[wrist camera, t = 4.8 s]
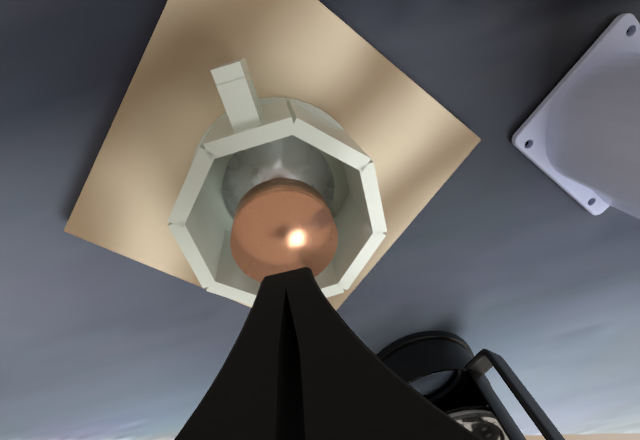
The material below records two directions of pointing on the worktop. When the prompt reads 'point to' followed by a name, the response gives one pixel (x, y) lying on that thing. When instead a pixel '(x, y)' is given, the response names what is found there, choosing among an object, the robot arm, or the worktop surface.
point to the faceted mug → (252, 130)
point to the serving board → (270, 81)
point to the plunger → (280, 208)
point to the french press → (466, 384)
